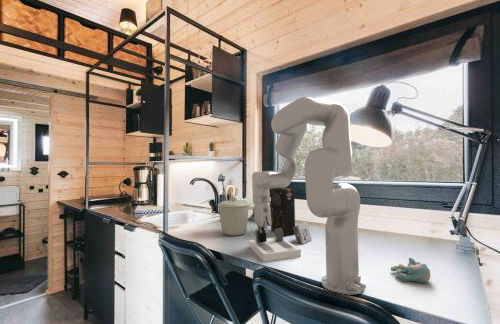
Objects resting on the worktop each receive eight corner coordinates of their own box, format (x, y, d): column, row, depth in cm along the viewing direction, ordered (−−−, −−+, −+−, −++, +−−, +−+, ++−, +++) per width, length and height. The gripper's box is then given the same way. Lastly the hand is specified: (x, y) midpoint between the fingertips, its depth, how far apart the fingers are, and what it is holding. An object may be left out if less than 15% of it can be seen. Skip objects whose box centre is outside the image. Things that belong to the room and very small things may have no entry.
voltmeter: (269, 230, 150) (268, 187, 151) (281, 228, 154) (281, 186, 155) (283, 237, 136) (282, 189, 137) (297, 235, 140) (296, 188, 140)
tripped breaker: (263, 241, 117) (263, 229, 117) (257, 242, 116) (257, 229, 116) (262, 240, 119) (261, 228, 119) (255, 241, 118) (255, 228, 118)
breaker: (283, 240, 118) (282, 229, 118) (277, 240, 117) (276, 229, 117) (281, 239, 120) (281, 228, 120) (275, 239, 119) (275, 228, 119)
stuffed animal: (398, 252, 94) (434, 256, 84) (403, 273, 92) (440, 279, 82) (380, 258, 88) (416, 262, 78) (384, 280, 87) (422, 288, 77)
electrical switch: (303, 245, 122) (301, 225, 123) (293, 244, 126) (291, 224, 126) (312, 240, 130) (310, 221, 130) (302, 239, 133) (300, 221, 134)
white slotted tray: (300, 256, 106) (300, 249, 106) (264, 261, 102) (263, 253, 102) (281, 243, 125) (280, 236, 125) (249, 246, 121) (249, 239, 121)
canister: (239, 239, 133) (238, 198, 133) (211, 235, 142) (210, 196, 142) (256, 231, 149) (255, 194, 149) (230, 228, 158) (229, 193, 158)
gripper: (275, 200, 108) (277, 245, 108) (263, 197, 122) (264, 236, 122) (258, 201, 106) (260, 247, 105) (248, 198, 120) (249, 238, 120)
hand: (262, 241), depth 114 cm, fingers closed
